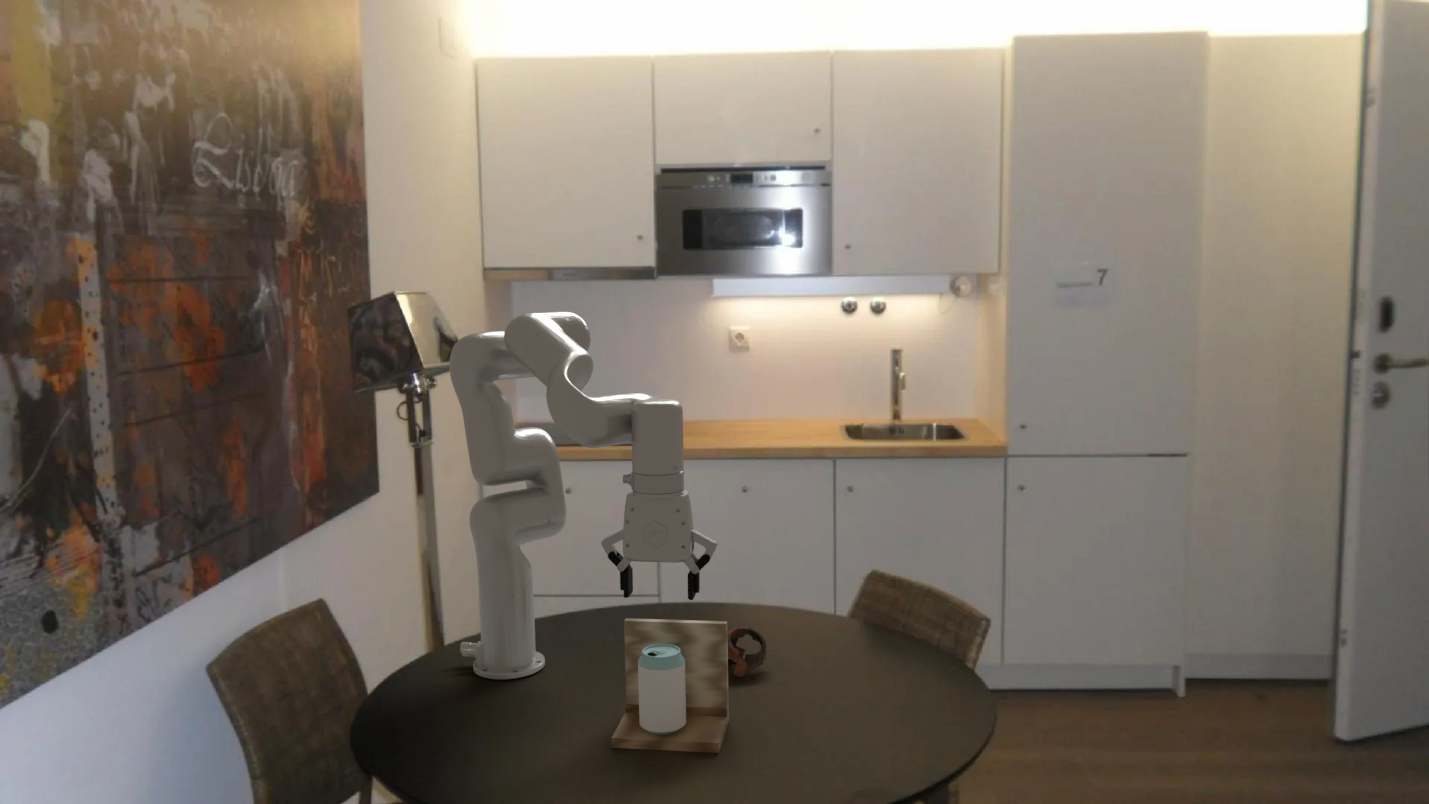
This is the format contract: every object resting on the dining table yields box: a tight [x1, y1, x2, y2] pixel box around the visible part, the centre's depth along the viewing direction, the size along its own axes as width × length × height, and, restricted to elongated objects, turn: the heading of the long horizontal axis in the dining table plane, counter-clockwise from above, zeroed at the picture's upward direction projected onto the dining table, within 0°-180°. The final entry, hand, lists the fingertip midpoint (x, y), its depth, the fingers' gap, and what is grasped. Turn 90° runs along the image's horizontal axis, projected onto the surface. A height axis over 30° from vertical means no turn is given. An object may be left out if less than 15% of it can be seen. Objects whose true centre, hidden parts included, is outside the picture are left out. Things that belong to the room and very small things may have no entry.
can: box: [638, 644, 686, 735], centre depth 157 cm, size 7×7×12 cm
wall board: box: [610, 617, 730, 754], centre depth 157 cm, size 16×11×16 cm
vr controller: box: [727, 626, 767, 678], centre depth 184 cm, size 12×10×8 cm
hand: (660, 596), depth 155 cm, fingers open, 9 cm apart
